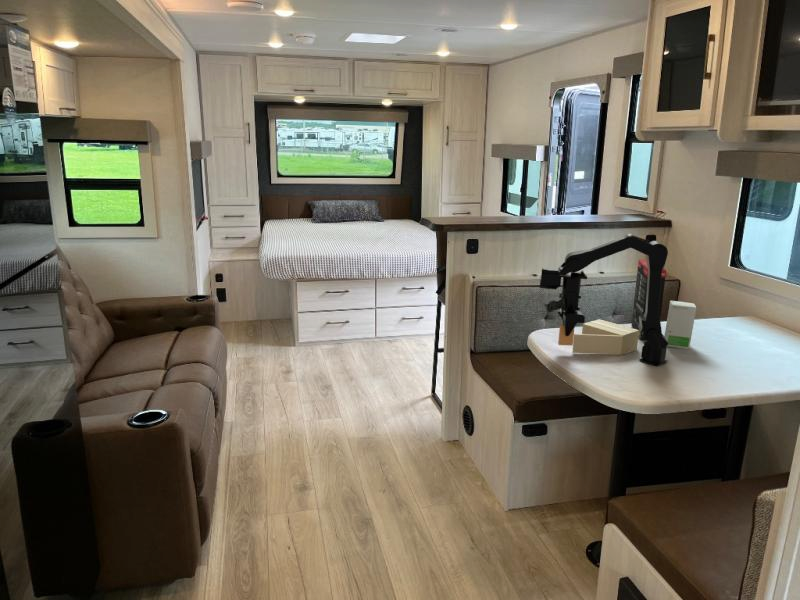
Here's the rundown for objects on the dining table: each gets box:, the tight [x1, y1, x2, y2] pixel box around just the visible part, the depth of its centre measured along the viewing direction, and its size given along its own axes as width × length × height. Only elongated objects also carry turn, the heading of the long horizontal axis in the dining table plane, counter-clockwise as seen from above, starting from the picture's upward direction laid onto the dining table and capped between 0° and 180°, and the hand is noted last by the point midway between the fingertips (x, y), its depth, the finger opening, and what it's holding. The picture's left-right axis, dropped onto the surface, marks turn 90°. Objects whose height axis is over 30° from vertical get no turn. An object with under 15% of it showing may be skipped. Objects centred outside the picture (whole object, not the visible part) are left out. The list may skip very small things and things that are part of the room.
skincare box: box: [663, 300, 697, 350], centre depth 210 cm, size 8×7×16 cm
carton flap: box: [557, 323, 623, 356], centre depth 200 cm, size 21×1×10 cm, turn 86°
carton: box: [581, 319, 639, 356], centre depth 209 cm, size 16×10×7 cm, turn 38°
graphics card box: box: [631, 259, 667, 341], centre depth 221 cm, size 17×7×27 cm, turn 171°
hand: (566, 335), depth 200 cm, fingers closed
